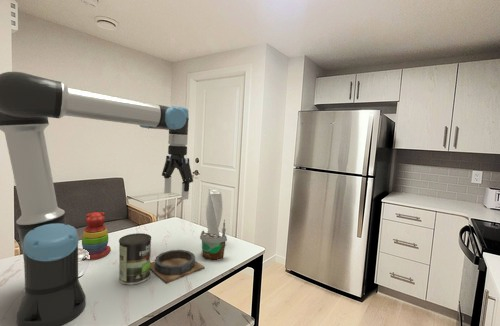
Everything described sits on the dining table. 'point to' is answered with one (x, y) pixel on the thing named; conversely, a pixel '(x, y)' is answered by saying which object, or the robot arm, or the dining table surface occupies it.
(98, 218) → the stacking bear
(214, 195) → the skyscraper
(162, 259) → the collar
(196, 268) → the board
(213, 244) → the food container
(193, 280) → the dining table surface
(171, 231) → the dining table surface
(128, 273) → the coffee can
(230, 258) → the dining table surface
